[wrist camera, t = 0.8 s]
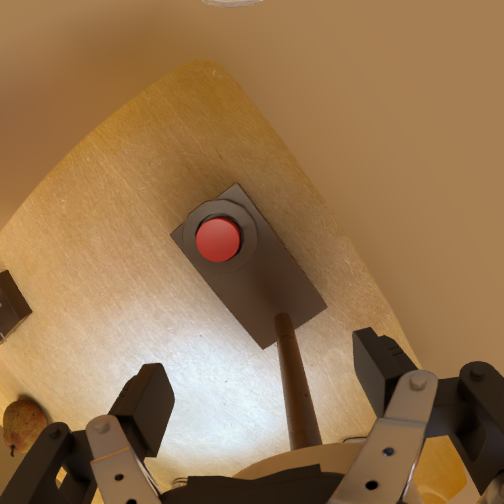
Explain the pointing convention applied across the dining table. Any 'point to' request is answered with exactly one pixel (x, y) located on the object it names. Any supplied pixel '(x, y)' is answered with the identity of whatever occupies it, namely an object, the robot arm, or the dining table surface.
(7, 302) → the dimmer panel
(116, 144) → the dining table surface
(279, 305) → the lamp base
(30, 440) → the fruit
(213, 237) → the lamp switch
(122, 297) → the dining table surface
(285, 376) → the lamp stem and shade
